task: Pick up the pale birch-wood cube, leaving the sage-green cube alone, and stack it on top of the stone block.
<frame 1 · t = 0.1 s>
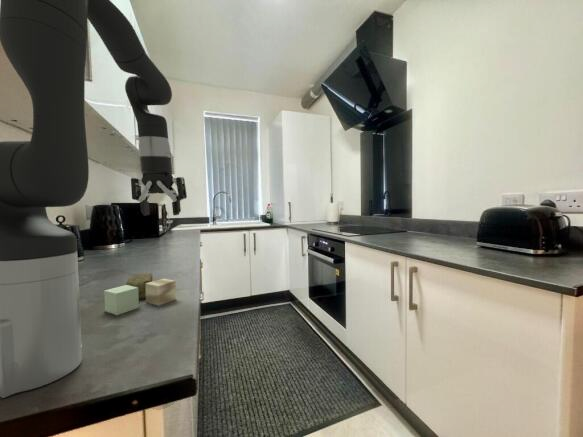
hand: (161, 215, 72), 22 cm above the countertop, tool pointing down, fingers open, 8 cm apart
birch cube: (161, 301, 67), on the countertop
stone block: (140, 294, 73), on the countertop
sage cube: (122, 309, 62), on the countertop
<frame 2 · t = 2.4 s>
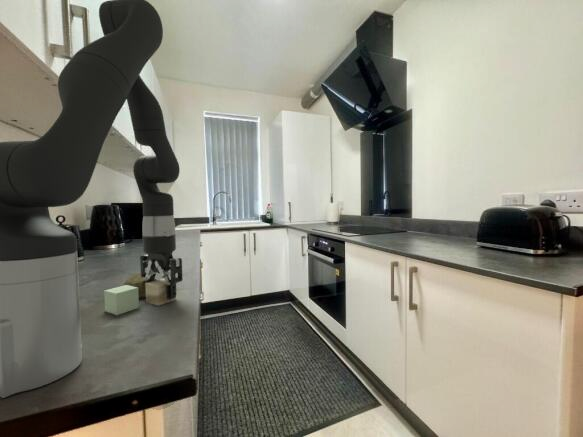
hand: (161, 296, 67), 1 cm above the countertop, tool pointing down, fingers open, 7 cm apart
nothing on the countertop moved.
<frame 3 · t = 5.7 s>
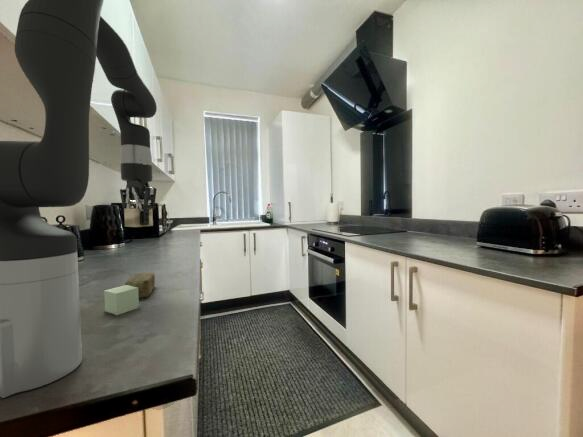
hand: (138, 224, 73), 20 cm above the countertop, tool pointing down, fingers closed on birch cube, 5 cm apart
birch cube: (139, 226, 73), point 19 cm above the countertop, touching gripper
everything else where it was.
when the fingers open (9 cm above the countertop, at t = 8.4 s): birch cube drops 4 cm, resting on stone block.
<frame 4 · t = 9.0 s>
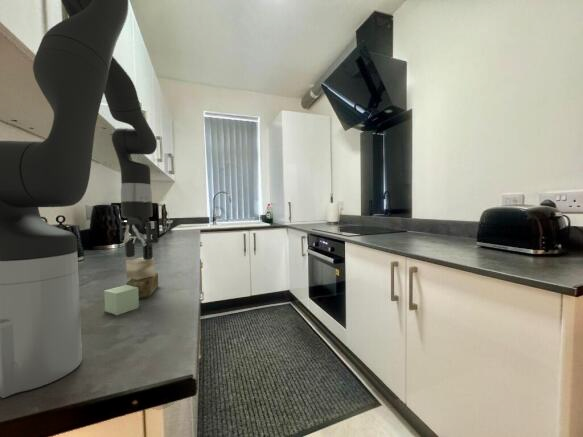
hand: (138, 257, 73), 10 cm above the countertop, tool pointing down, fingers open, 8 cm apart
birch cube: (140, 276, 73), point 5 cm above the countertop, touching stone block
stone block: (143, 293, 74), on the countertop, touching birch cube
everything else where it was.
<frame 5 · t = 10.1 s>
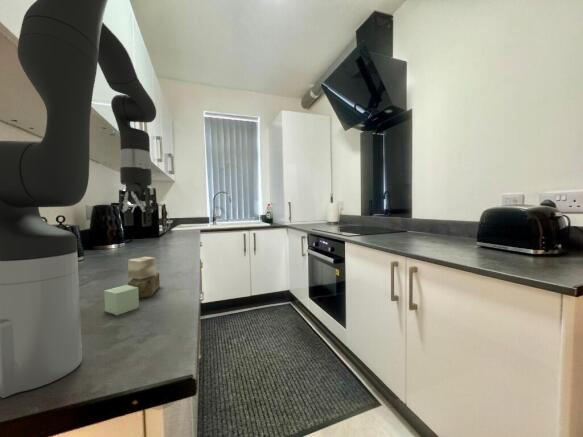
hand: (137, 225, 73), 19 cm above the countertop, tool pointing down, fingers open, 8 cm apart
nothing on the countertop moved.
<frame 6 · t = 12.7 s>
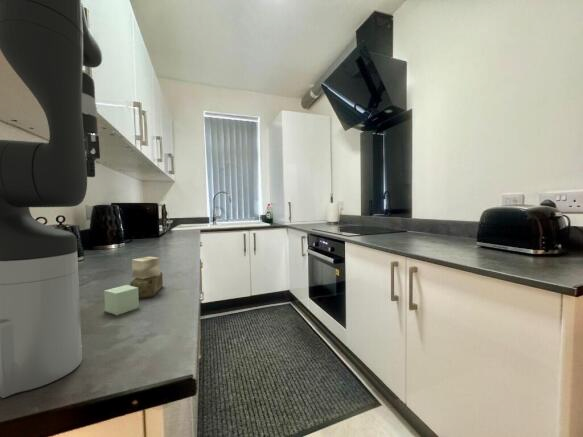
hand: (81, 178, 67), 32 cm above the countertop, tool pointing down, fingers open, 8 cm apart
at the end: birch cube inside the target area on the stone block (0.6 cm from its centre), point 5.1 cm above the stone block's base; birch cube touching stone block; birch cube tilted 0° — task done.
